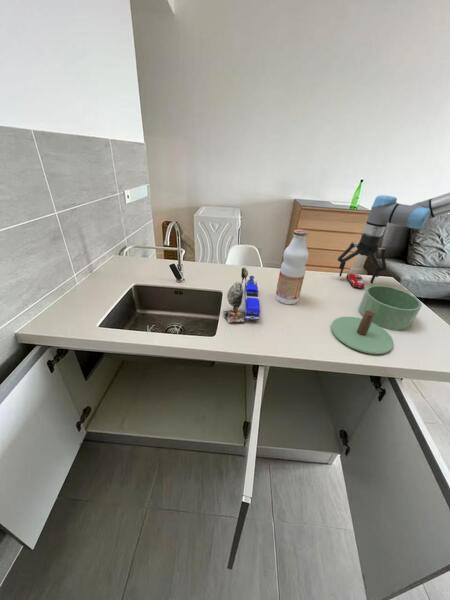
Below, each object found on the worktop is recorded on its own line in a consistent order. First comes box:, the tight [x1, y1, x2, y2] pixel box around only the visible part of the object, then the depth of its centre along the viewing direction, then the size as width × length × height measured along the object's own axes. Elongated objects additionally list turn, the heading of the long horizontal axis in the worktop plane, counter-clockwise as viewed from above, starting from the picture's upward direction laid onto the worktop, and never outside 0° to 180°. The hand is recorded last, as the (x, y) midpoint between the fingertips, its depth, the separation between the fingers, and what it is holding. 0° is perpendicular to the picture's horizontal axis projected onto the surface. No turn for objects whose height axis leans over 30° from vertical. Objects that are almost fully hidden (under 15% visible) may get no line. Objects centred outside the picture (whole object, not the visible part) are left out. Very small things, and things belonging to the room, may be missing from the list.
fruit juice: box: [275, 229, 310, 305], centre depth 93 cm, size 9×9×28 cm
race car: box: [346, 272, 366, 289], centre depth 115 cm, size 13×5×4 cm, turn 170°
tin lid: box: [331, 311, 394, 355], centre depth 79 cm, size 19×19×9 cm
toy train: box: [244, 275, 261, 321], centre depth 93 cm, size 5×25×8 cm, turn 177°
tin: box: [358, 284, 423, 331], centre depth 91 cm, size 18×18×8 cm
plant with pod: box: [222, 267, 249, 324], centre depth 83 cm, size 8×11×20 cm
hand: (355, 278), depth 115 cm, fingers open, 13 cm apart
